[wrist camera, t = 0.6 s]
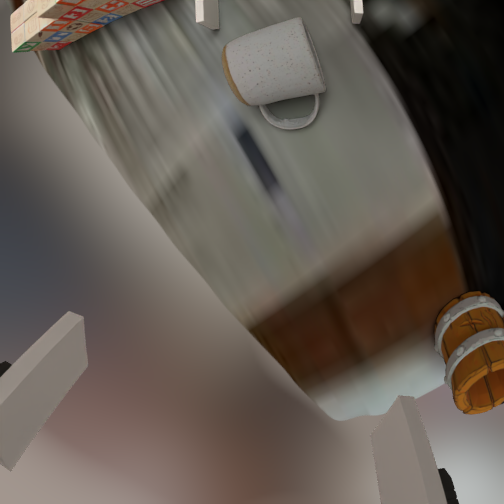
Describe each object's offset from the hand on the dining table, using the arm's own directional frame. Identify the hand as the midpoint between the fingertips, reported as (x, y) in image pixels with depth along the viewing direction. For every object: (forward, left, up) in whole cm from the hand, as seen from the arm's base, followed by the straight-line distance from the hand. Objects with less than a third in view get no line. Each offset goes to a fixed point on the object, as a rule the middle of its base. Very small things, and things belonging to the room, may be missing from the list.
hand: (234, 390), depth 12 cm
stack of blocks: (-16, -31, -27) cm, 44 cm away
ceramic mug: (-11, -6, -27) cm, 30 cm away
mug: (+5, +30, -27) cm, 41 cm away
